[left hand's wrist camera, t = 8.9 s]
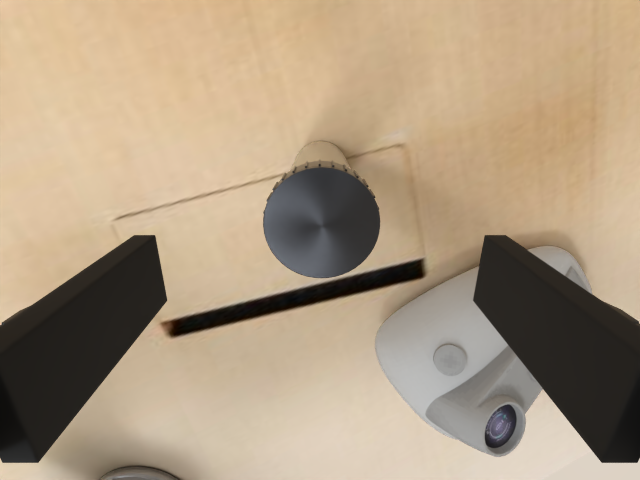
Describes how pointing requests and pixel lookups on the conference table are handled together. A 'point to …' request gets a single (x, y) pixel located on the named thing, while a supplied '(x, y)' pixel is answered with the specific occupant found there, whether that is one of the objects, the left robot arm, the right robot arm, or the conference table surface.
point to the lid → (321, 219)
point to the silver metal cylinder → (320, 154)
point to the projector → (463, 362)
